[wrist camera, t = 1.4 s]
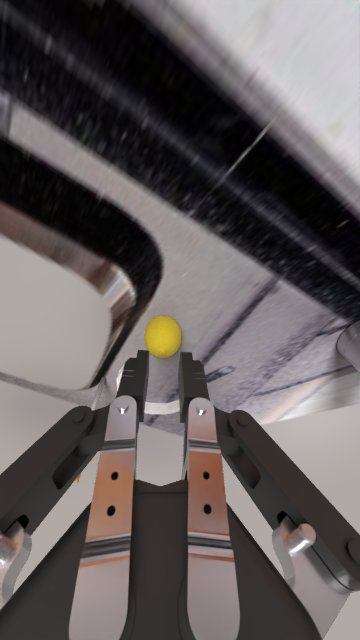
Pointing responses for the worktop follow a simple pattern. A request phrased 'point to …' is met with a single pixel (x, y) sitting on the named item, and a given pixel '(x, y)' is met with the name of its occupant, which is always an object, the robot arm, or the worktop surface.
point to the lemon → (163, 336)
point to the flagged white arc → (149, 407)
